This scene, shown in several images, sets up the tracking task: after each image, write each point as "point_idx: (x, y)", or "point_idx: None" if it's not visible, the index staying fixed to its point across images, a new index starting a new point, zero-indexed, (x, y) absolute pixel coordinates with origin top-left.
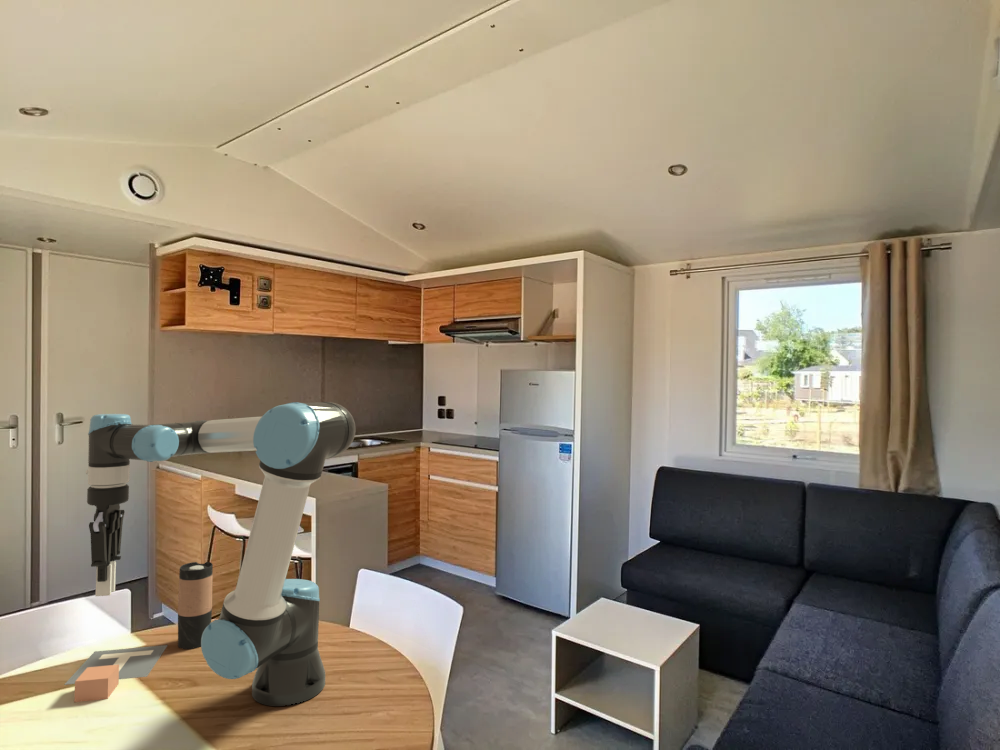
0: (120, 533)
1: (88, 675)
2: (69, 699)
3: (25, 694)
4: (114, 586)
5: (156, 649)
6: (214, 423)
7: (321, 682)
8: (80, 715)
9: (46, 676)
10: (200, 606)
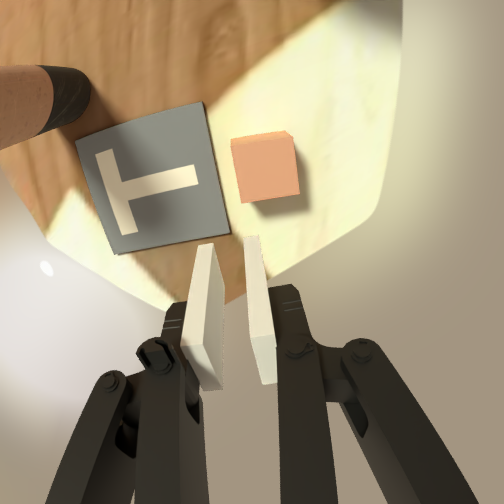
0: (71, 493)
1: (277, 182)
2: None
3: None
4: (203, 255)
5: (92, 150)
6: None
7: None
8: (325, 153)
9: None
10: (33, 71)
